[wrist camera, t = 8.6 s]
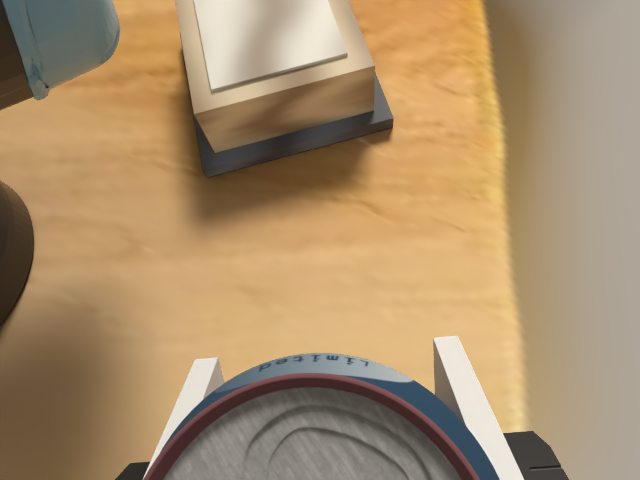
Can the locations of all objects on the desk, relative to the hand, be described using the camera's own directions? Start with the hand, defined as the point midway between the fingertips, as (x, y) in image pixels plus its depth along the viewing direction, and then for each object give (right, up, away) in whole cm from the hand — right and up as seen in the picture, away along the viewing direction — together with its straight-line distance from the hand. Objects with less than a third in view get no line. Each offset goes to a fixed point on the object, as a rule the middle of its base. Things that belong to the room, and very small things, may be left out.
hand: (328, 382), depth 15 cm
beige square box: (-3, +16, +19) cm, 25 cm away
